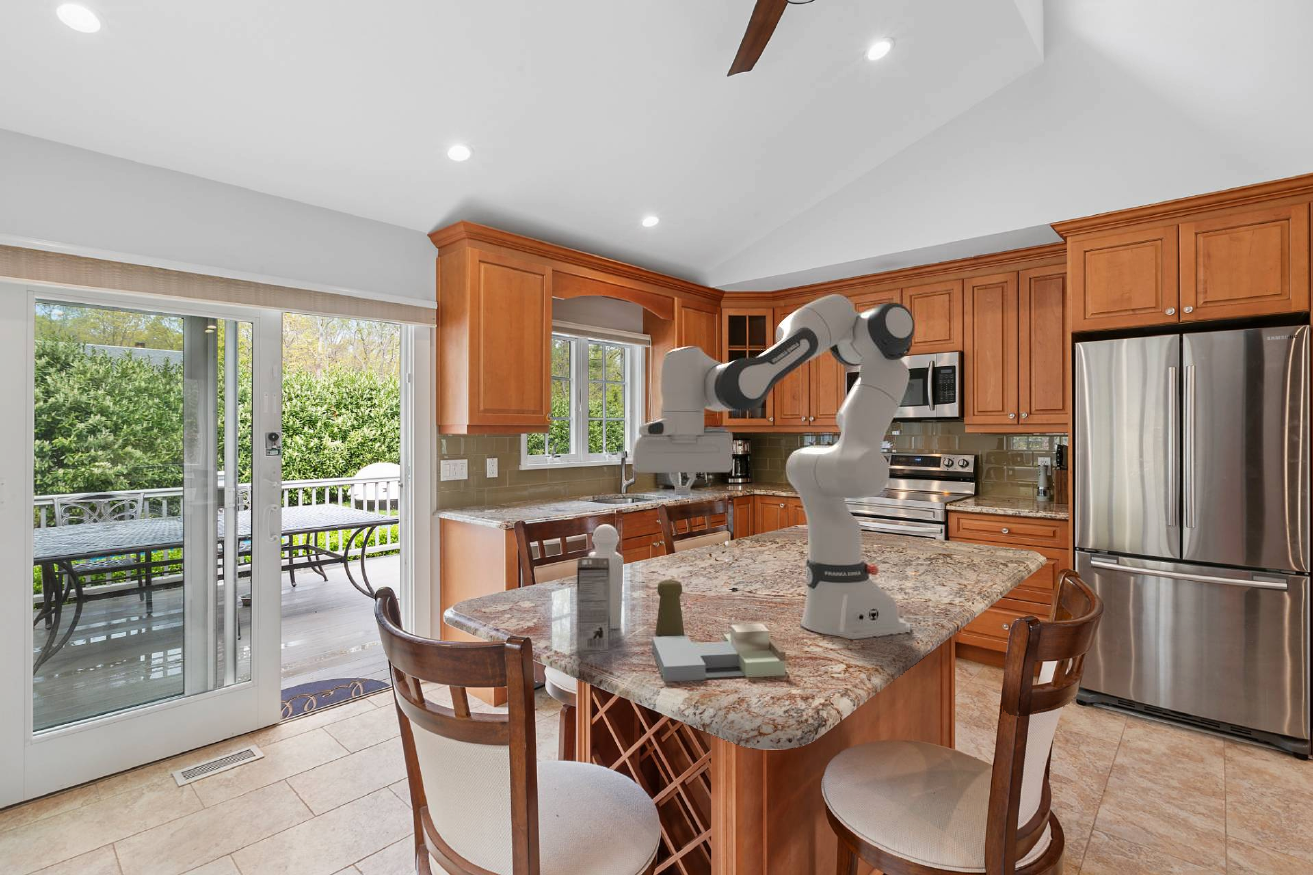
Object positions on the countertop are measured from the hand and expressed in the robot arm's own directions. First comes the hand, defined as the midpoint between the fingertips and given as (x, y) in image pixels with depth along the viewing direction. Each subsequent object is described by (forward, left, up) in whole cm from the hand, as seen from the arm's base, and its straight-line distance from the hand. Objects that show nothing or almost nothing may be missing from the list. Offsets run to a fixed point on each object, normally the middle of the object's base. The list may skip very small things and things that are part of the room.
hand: (682, 495), depth 130 cm
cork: (+2, -4, -29) cm, 30 cm away
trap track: (-4, +14, -29) cm, 32 cm away
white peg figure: (+15, -11, -29) cm, 35 cm away
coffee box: (+18, 0, -29) cm, 34 cm away
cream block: (-10, +14, -27) cm, 32 cm away
